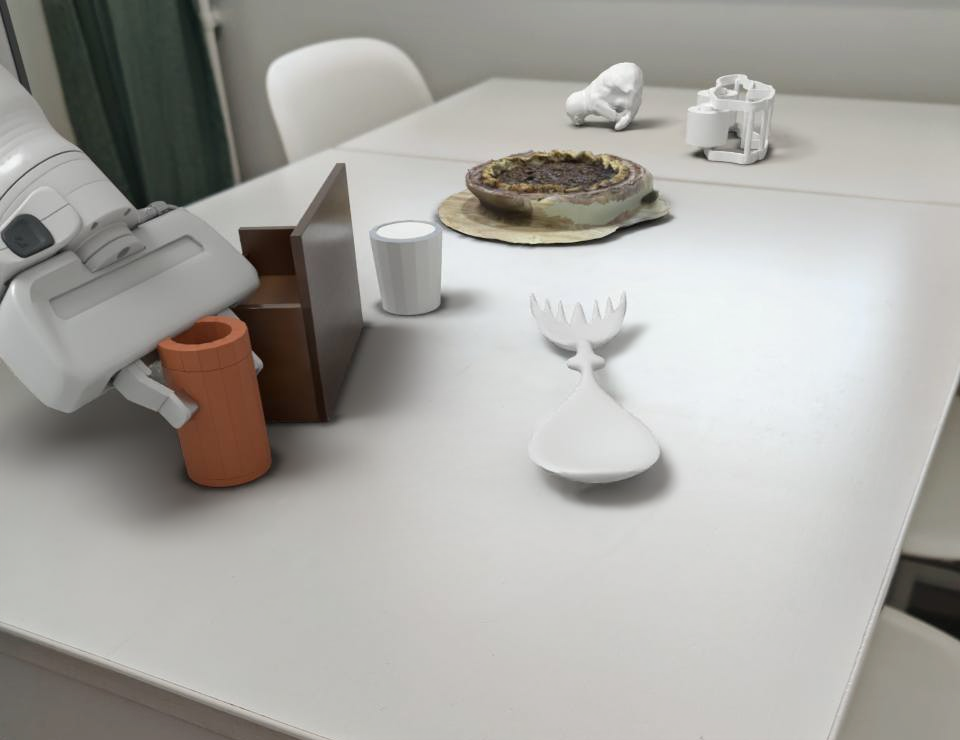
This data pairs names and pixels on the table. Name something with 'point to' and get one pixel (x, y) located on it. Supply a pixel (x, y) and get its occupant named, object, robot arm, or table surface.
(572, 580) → the table surface
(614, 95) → the white animal figurine
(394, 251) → the white cup
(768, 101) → the white strut cage
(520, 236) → the pie
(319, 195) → the box
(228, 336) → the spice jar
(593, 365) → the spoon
